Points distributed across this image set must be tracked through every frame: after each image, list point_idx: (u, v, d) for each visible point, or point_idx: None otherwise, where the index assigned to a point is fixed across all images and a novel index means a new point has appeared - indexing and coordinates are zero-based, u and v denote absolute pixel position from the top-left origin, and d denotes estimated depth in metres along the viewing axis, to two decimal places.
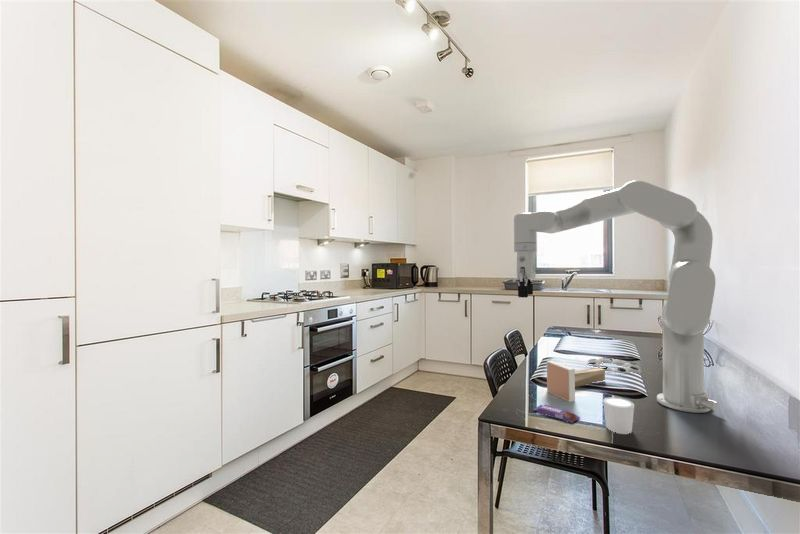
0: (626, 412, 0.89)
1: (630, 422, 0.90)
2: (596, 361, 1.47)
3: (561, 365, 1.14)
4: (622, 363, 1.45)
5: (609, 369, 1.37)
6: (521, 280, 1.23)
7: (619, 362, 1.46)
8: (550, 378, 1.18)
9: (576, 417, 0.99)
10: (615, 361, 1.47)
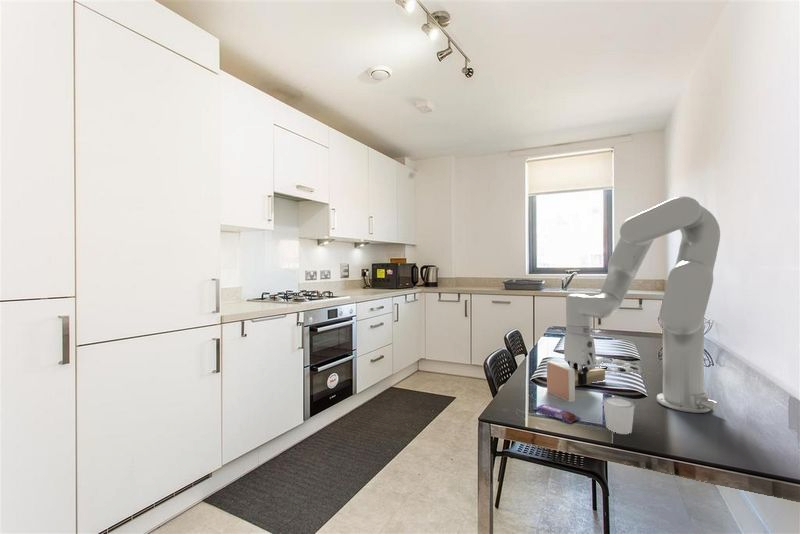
0: (626, 412, 0.89)
1: (630, 422, 0.90)
2: (596, 361, 1.47)
3: (561, 365, 1.14)
4: (622, 363, 1.45)
5: (609, 369, 1.37)
6: (588, 370, 1.21)
7: (619, 362, 1.46)
8: (550, 378, 1.18)
9: (576, 417, 0.99)
10: (615, 361, 1.47)
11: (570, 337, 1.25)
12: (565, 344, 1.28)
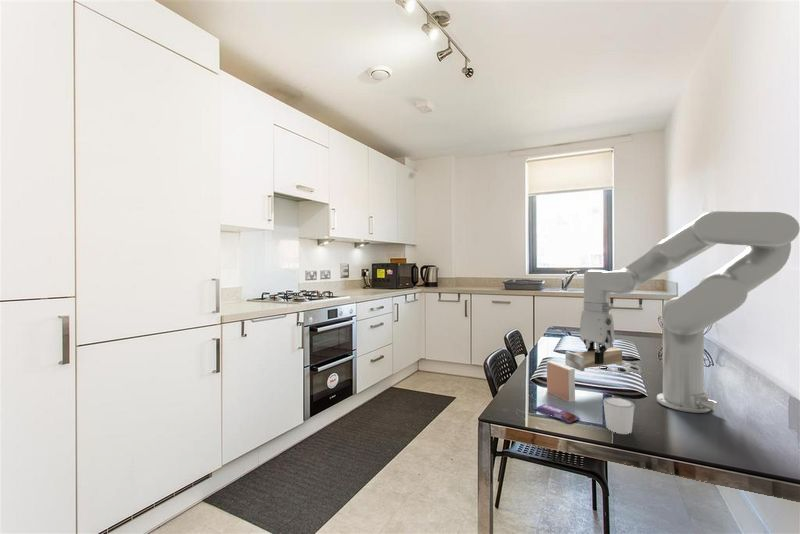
0: (626, 412, 0.89)
1: (630, 422, 0.90)
2: None
3: (561, 365, 1.14)
4: (622, 363, 1.45)
5: (609, 369, 1.37)
6: (606, 348, 1.16)
7: None
8: (550, 378, 1.18)
9: (576, 417, 0.99)
10: None
11: (588, 315, 1.19)
12: (581, 322, 1.22)
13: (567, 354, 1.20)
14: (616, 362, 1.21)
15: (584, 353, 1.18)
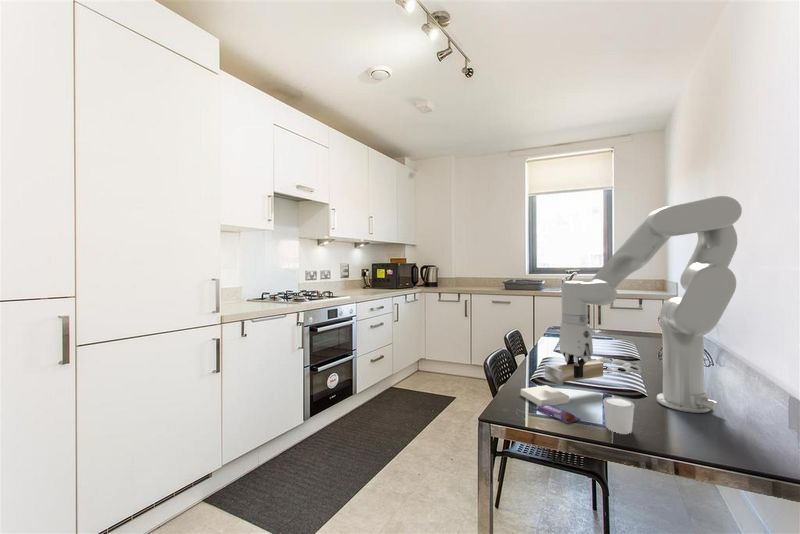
0: (626, 412, 0.89)
1: (630, 422, 0.90)
2: None
3: (531, 398, 1.11)
4: (622, 363, 1.45)
5: (609, 369, 1.37)
6: (585, 362, 1.13)
7: (619, 362, 1.46)
8: None
9: (576, 418, 0.98)
10: (615, 361, 1.47)
11: (566, 327, 1.17)
12: (560, 334, 1.20)
13: (546, 367, 1.17)
14: (597, 376, 1.18)
15: (563, 366, 1.15)
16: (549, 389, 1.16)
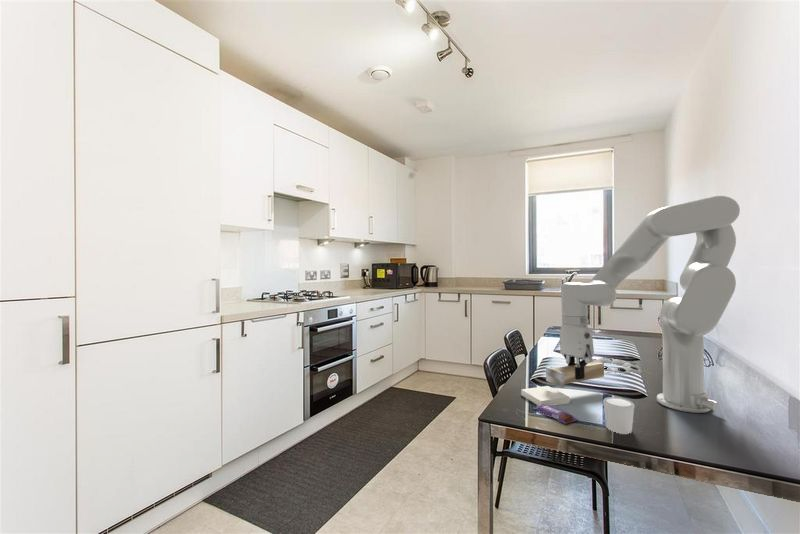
0: (626, 412, 0.89)
1: (630, 422, 0.90)
2: None
3: (532, 399, 1.11)
4: (622, 363, 1.45)
5: (609, 369, 1.37)
6: (586, 363, 1.13)
7: (619, 362, 1.46)
8: None
9: (574, 419, 0.98)
10: (615, 361, 1.47)
11: (566, 328, 1.16)
12: (561, 336, 1.19)
13: (547, 370, 1.16)
14: (598, 376, 1.18)
15: (564, 368, 1.15)
16: (550, 389, 1.16)
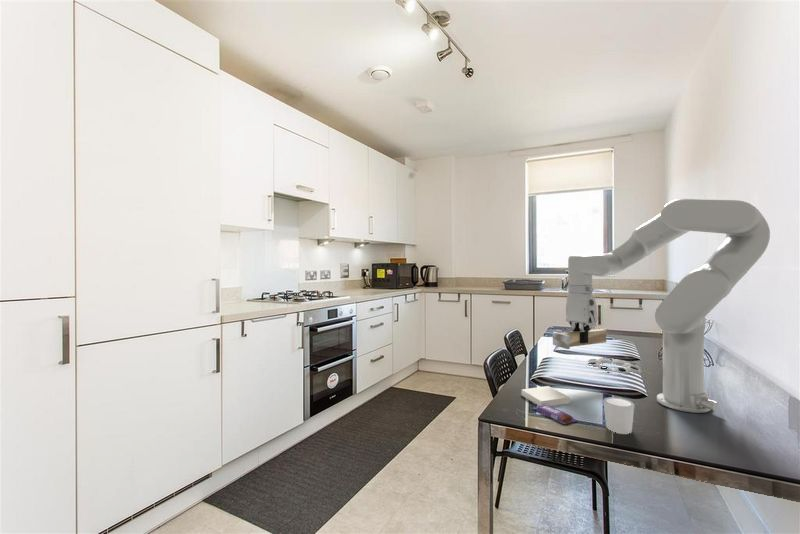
0: (626, 412, 0.89)
1: (630, 422, 0.90)
2: (596, 361, 1.47)
3: (532, 399, 1.11)
4: (622, 363, 1.45)
5: (609, 369, 1.37)
6: (590, 328, 1.23)
7: (619, 362, 1.46)
8: None
9: (573, 420, 0.97)
10: (615, 361, 1.47)
11: (572, 297, 1.27)
12: (567, 304, 1.30)
13: (554, 334, 1.27)
14: (601, 341, 1.29)
15: (570, 333, 1.26)
16: (550, 390, 1.16)
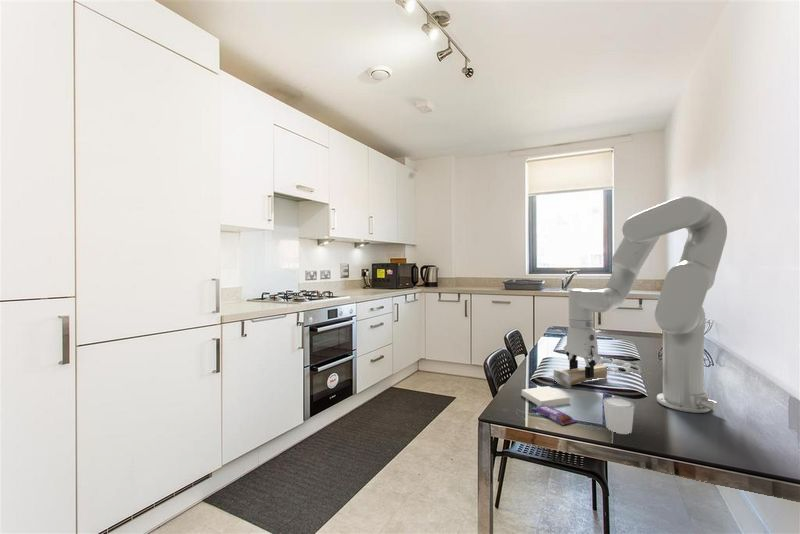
0: (626, 412, 0.89)
1: (630, 422, 0.90)
2: None
3: (532, 399, 1.11)
4: (622, 363, 1.45)
5: (609, 369, 1.37)
6: (596, 362, 1.22)
7: (619, 362, 1.46)
8: None
9: (572, 420, 0.97)
10: (615, 361, 1.47)
11: (573, 331, 1.27)
12: (568, 338, 1.30)
13: (555, 372, 1.28)
14: None
15: (571, 371, 1.26)
16: (550, 390, 1.15)
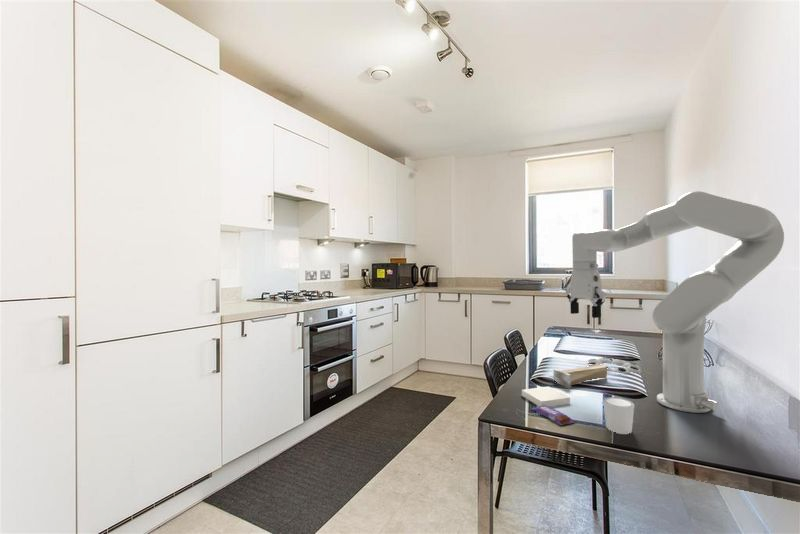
0: (626, 412, 0.89)
1: (630, 422, 0.90)
2: (596, 361, 1.47)
3: (532, 399, 1.11)
4: (622, 363, 1.45)
5: (609, 369, 1.37)
6: (603, 300, 1.20)
7: (619, 362, 1.46)
8: None
9: (571, 421, 0.97)
10: (615, 361, 1.47)
11: (577, 274, 1.27)
12: (571, 282, 1.30)
13: (555, 372, 1.28)
14: None
15: (571, 371, 1.26)
16: (550, 390, 1.15)
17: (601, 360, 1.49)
